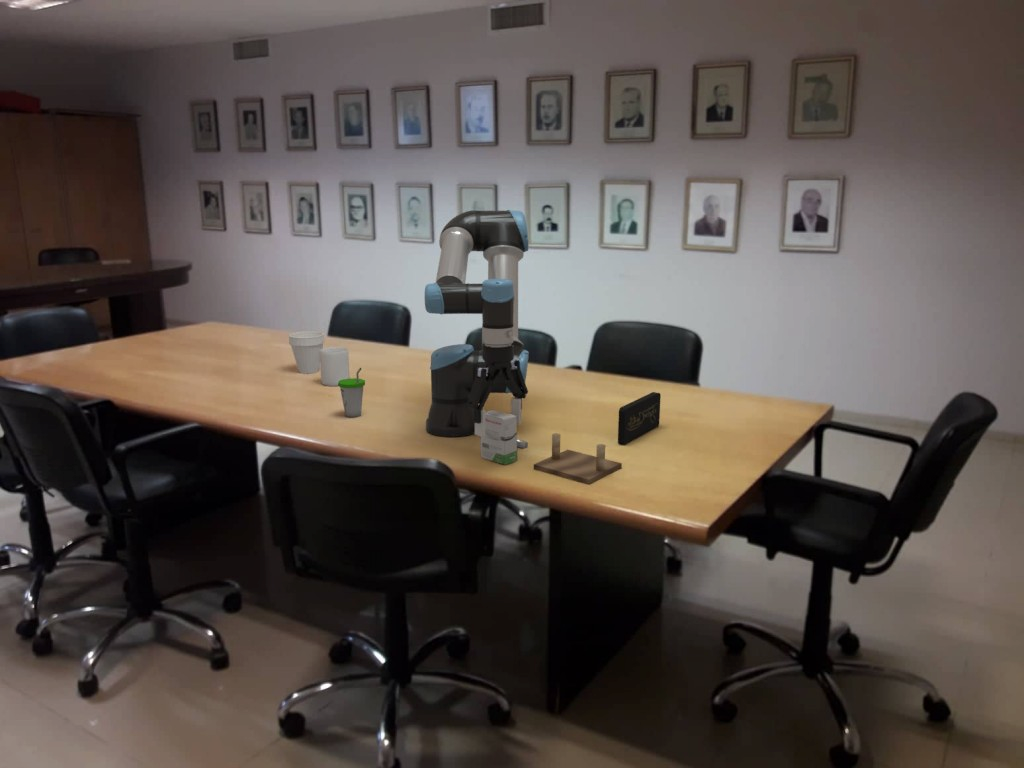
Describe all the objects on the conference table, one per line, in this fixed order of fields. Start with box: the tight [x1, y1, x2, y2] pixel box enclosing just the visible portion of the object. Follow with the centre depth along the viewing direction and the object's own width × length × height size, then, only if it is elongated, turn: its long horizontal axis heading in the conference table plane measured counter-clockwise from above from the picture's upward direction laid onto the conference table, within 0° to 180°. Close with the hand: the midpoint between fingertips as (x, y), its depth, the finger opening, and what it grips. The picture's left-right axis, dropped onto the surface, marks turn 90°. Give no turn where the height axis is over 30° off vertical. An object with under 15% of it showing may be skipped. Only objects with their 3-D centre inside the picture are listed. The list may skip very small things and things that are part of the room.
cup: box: [337, 367, 366, 419], centre depth 237 cm, size 8×8×15 cm
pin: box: [517, 438, 529, 450], centre depth 212 cm, size 8×2×2 cm
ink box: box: [480, 409, 518, 466], centre depth 200 cm, size 9×5×12 cm, turn 47°
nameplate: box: [617, 391, 661, 446], centre depth 219 cm, size 21×2×10 cm, turn 144°
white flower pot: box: [288, 330, 325, 375], centre depth 291 cm, size 12×12×14 cm
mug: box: [319, 346, 351, 387], centre depth 275 cm, size 10×12×12 cm
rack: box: [533, 432, 623, 485], centre depth 194 cm, size 16×14×7 cm
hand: (498, 429), depth 199 cm, fingers open, 13 cm apart
